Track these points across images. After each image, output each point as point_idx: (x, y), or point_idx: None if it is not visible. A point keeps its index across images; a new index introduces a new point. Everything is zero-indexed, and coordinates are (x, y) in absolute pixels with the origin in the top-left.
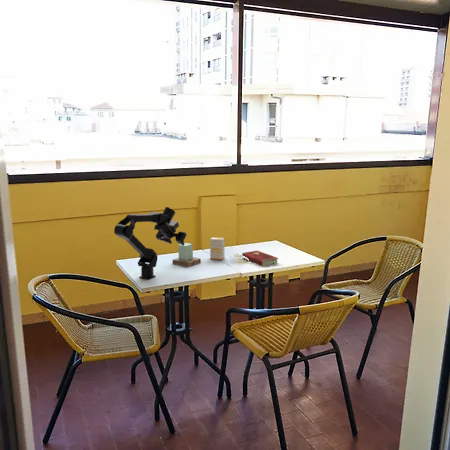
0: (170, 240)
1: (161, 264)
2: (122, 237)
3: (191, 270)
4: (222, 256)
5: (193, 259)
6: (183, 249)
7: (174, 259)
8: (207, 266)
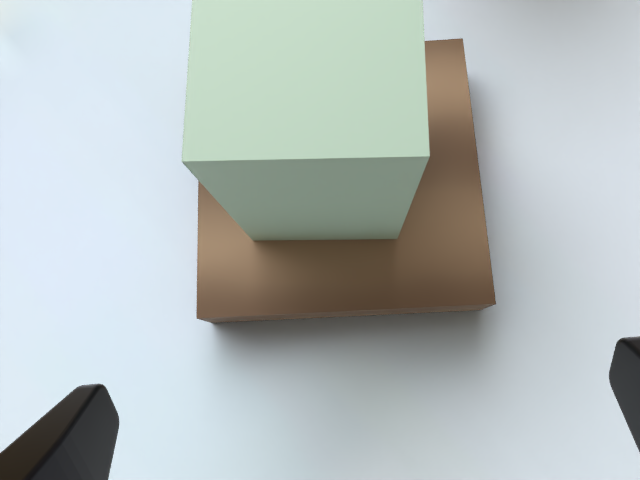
0: (50, 472)
1: None
2: None
3: None
4: None
5: None
6: (351, 189)
7: (206, 284)
8: (636, 137)
